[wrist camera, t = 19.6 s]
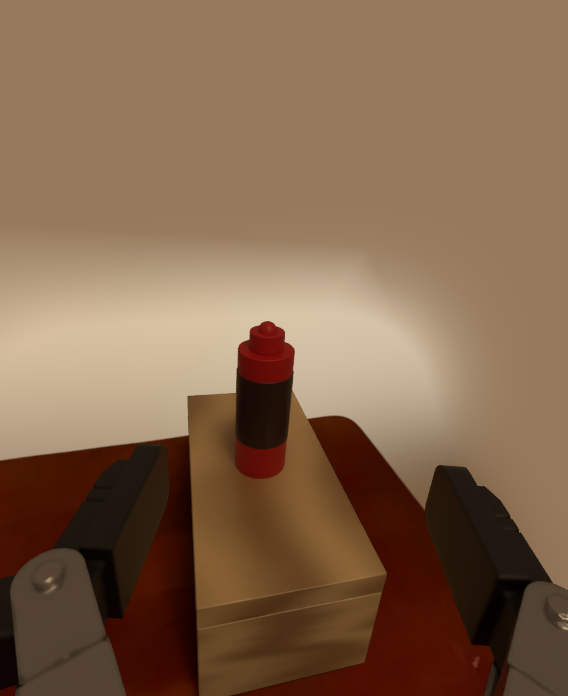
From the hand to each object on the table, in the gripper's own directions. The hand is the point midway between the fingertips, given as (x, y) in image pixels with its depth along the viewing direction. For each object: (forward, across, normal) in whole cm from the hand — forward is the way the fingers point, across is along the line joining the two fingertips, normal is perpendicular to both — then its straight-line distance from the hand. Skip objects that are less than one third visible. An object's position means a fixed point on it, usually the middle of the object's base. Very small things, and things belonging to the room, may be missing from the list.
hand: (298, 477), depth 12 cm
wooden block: (+14, +2, +19) cm, 23 cm away
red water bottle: (+14, +2, +11) cm, 18 cm away
